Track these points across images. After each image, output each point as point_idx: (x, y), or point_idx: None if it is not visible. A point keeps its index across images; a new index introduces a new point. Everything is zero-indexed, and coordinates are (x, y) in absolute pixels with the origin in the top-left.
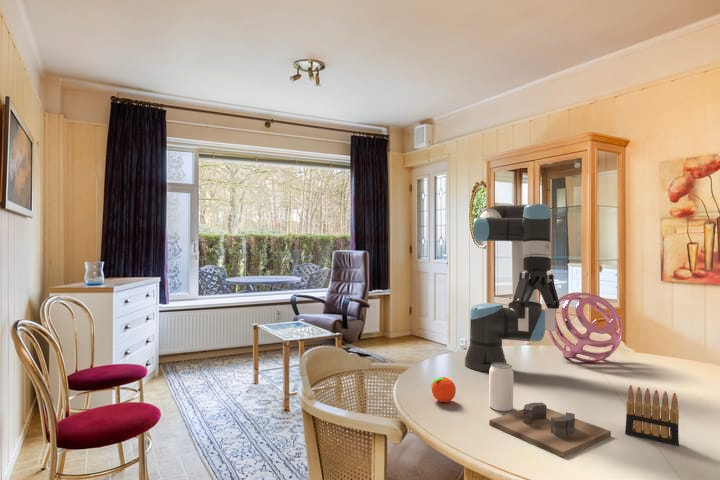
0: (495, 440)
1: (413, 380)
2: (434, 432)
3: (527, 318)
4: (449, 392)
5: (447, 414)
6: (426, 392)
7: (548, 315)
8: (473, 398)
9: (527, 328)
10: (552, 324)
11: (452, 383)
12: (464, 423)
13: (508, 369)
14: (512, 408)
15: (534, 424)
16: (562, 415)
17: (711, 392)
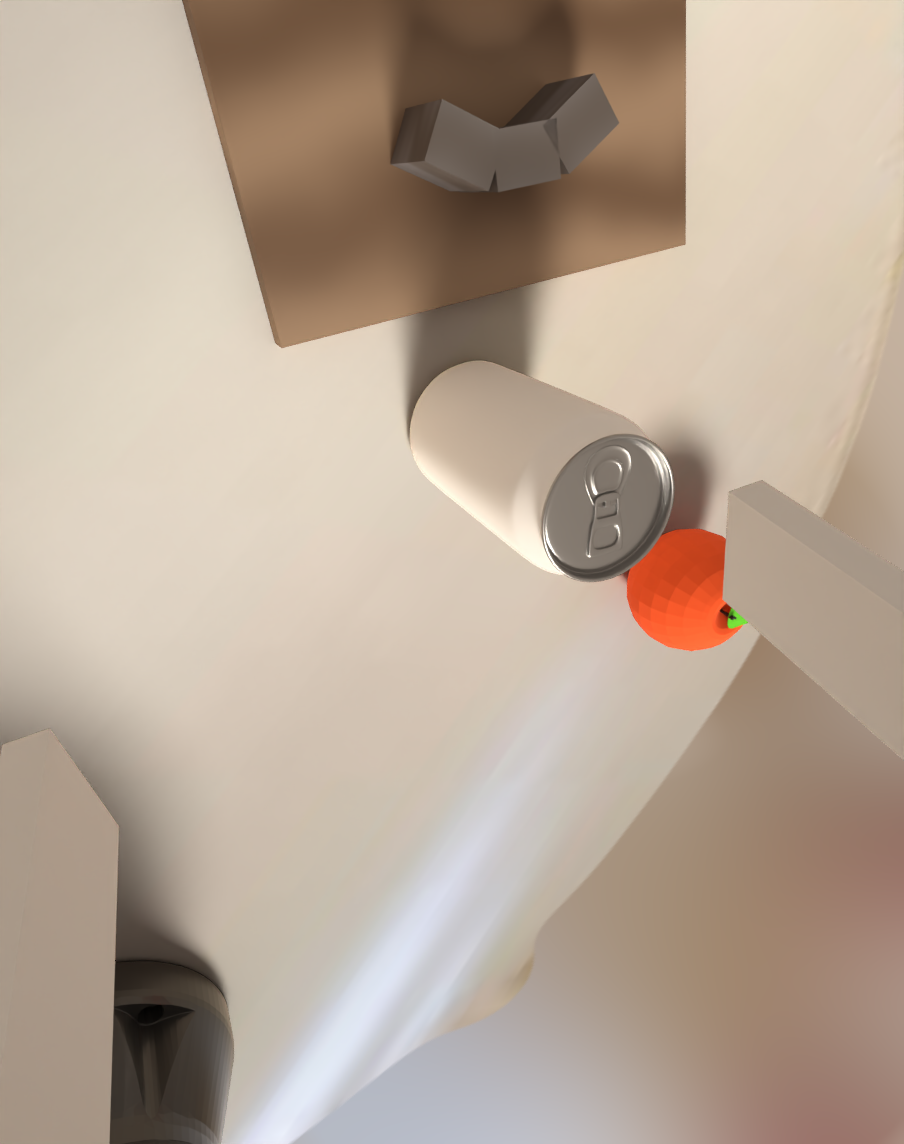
0: (769, 65)
1: (596, 819)
2: (884, 265)
3: (887, 578)
4: (707, 536)
5: (731, 421)
6: (641, 678)
7: (75, 1041)
8: (507, 578)
9: (775, 500)
10: (48, 832)
11: (700, 577)
12: (742, 303)
13: (608, 433)
14: (439, 375)
15: (534, 72)
16: (248, 107)
17: None
